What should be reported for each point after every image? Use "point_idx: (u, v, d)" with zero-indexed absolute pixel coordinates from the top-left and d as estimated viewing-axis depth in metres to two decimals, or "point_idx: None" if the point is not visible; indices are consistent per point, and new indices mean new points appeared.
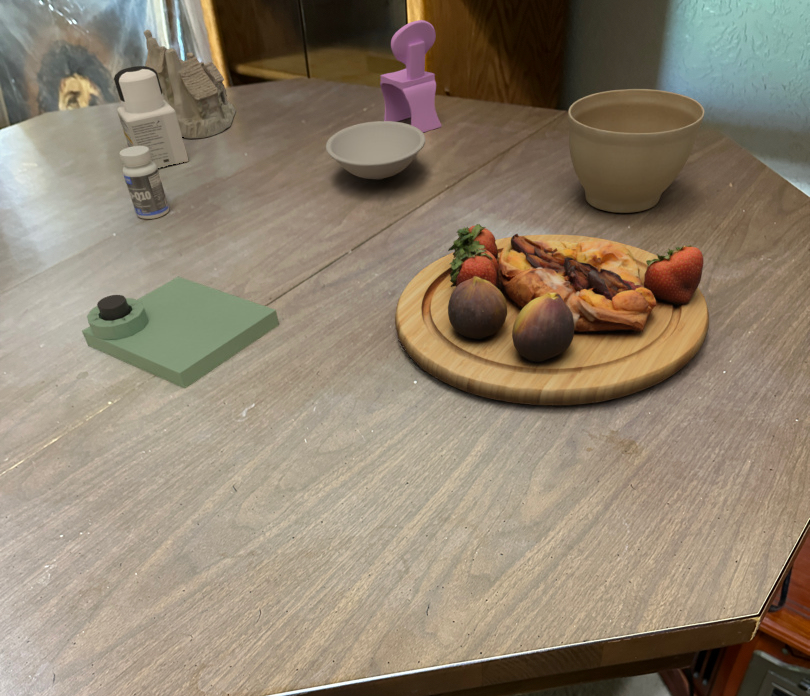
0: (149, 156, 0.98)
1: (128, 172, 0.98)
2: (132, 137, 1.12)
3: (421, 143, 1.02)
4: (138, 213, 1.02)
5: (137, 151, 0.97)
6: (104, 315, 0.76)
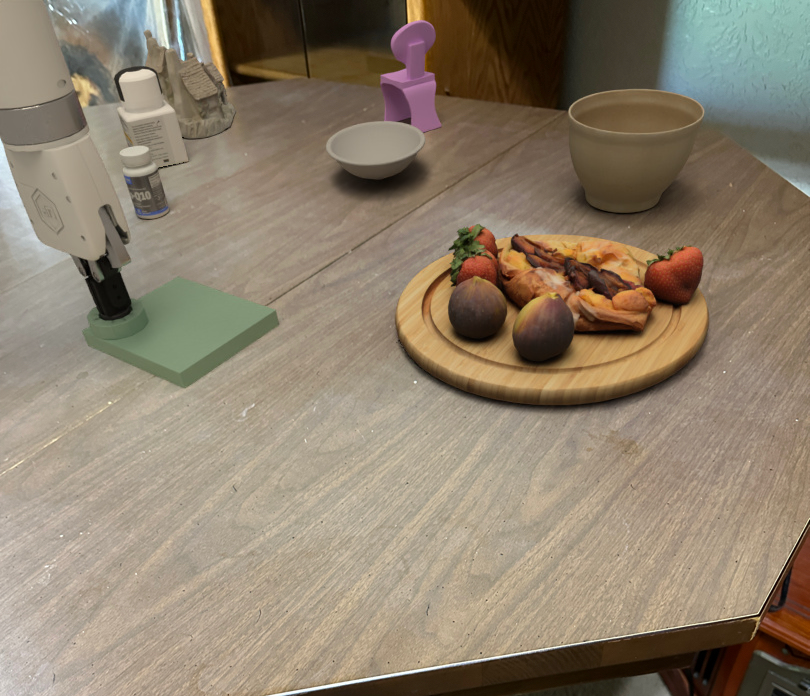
0: (149, 156, 0.98)
1: (128, 172, 0.98)
2: (132, 137, 1.12)
3: (421, 143, 1.02)
4: (138, 213, 1.02)
5: (137, 151, 0.97)
6: None
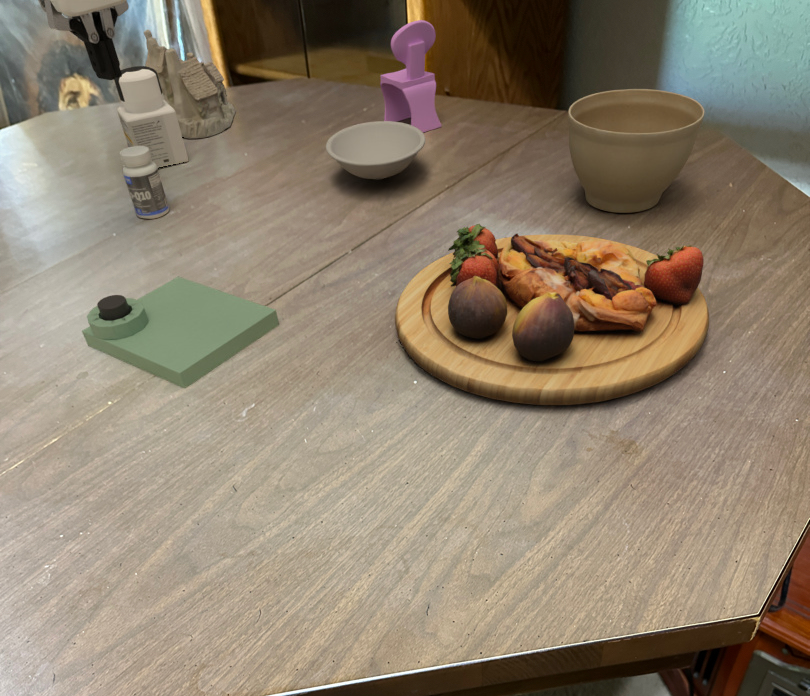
0: (149, 156, 0.98)
1: (128, 172, 0.98)
2: (132, 137, 1.12)
3: (421, 143, 1.02)
4: (138, 213, 1.02)
5: (137, 151, 0.97)
6: (104, 315, 0.76)
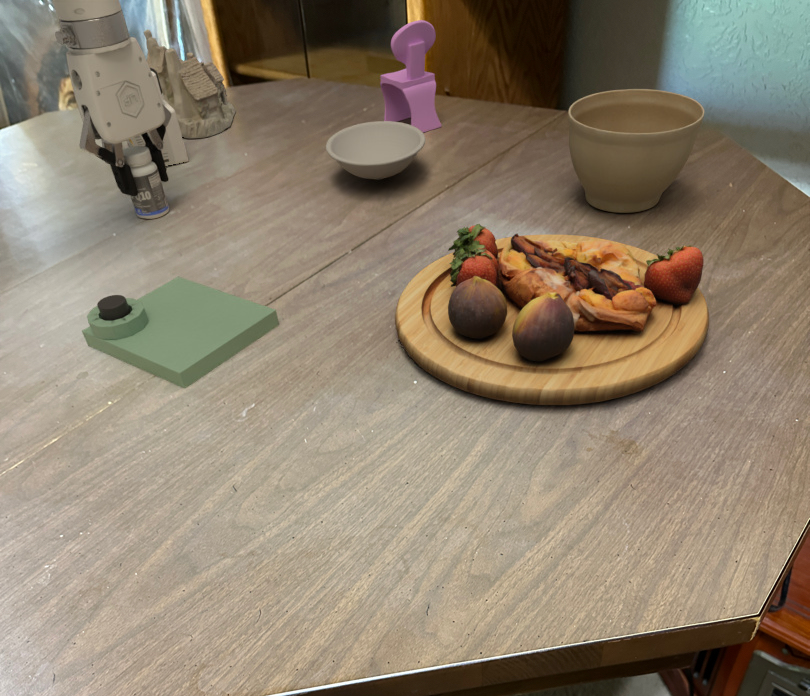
0: (149, 156, 0.98)
1: None
2: None
3: (421, 143, 1.02)
4: (138, 213, 1.02)
5: (137, 151, 0.97)
6: (104, 315, 0.76)
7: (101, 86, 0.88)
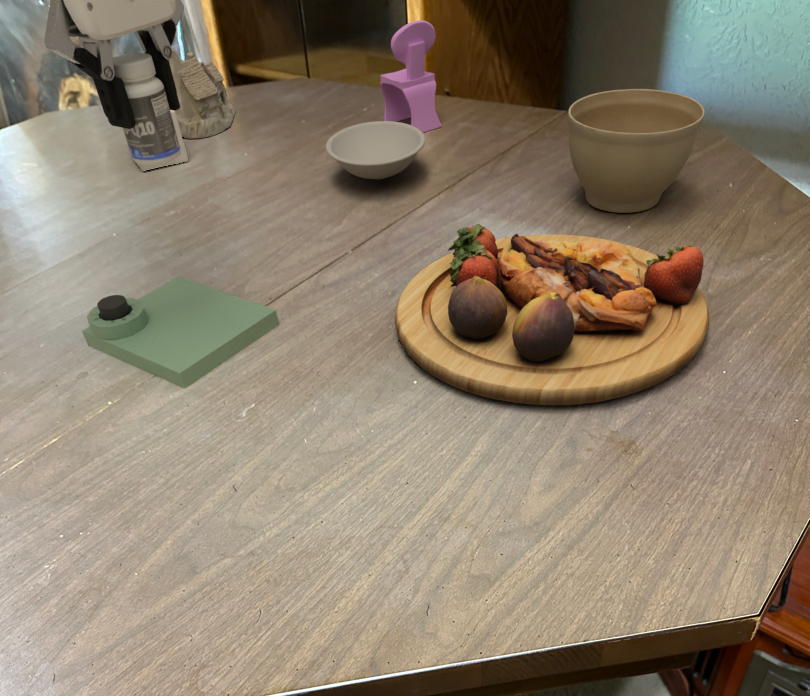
0: (152, 67, 0.65)
1: None
2: None
3: (421, 143, 1.02)
4: (136, 157, 0.69)
5: (133, 59, 0.64)
6: (104, 315, 0.76)
7: None
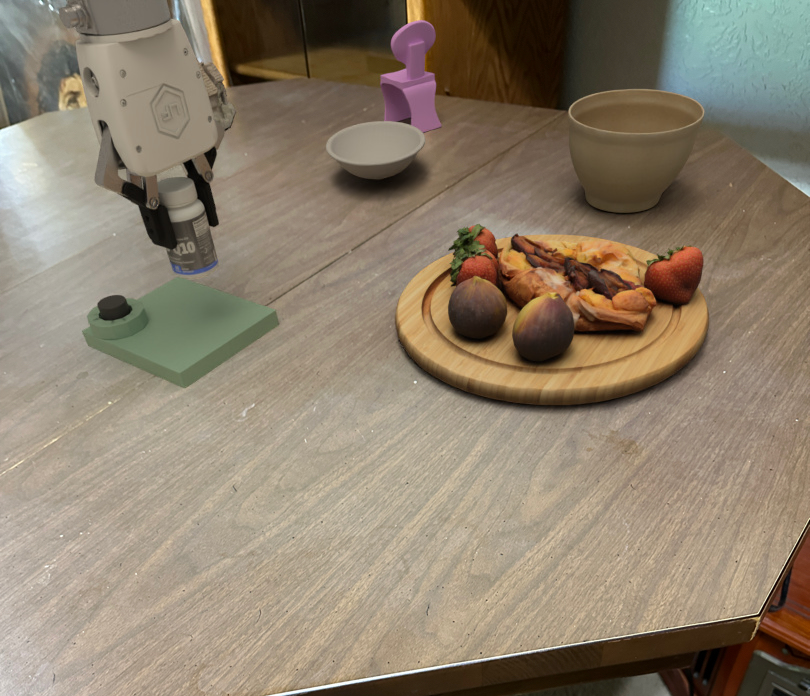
0: (194, 192, 0.68)
1: None
2: None
3: (421, 143, 1.02)
4: (176, 271, 0.72)
5: (177, 186, 0.67)
6: (104, 315, 0.76)
7: (128, 92, 0.58)
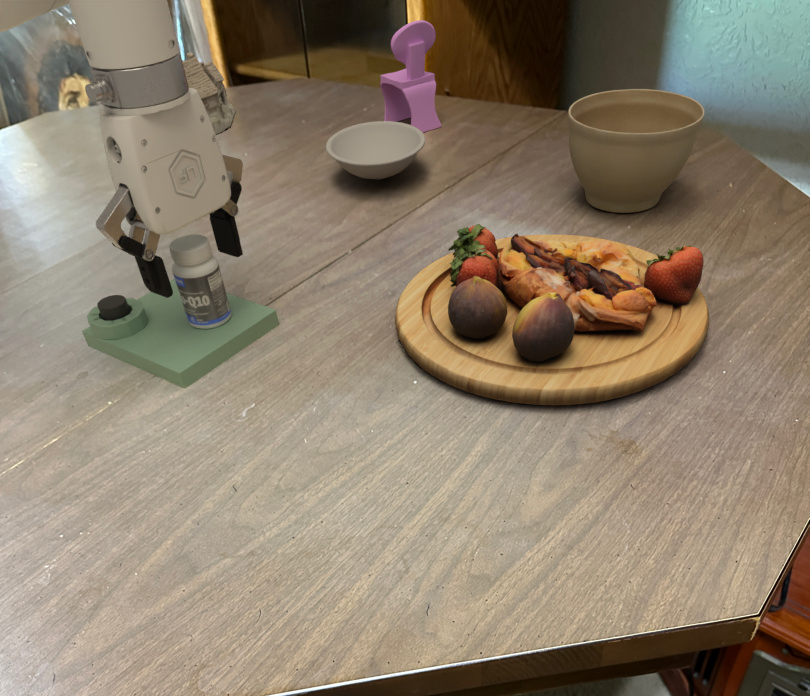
0: (209, 250, 0.72)
1: (181, 272, 0.72)
2: None
3: (421, 143, 1.02)
4: (191, 321, 0.76)
5: (193, 244, 0.71)
6: (104, 315, 0.76)
7: (149, 159, 0.62)
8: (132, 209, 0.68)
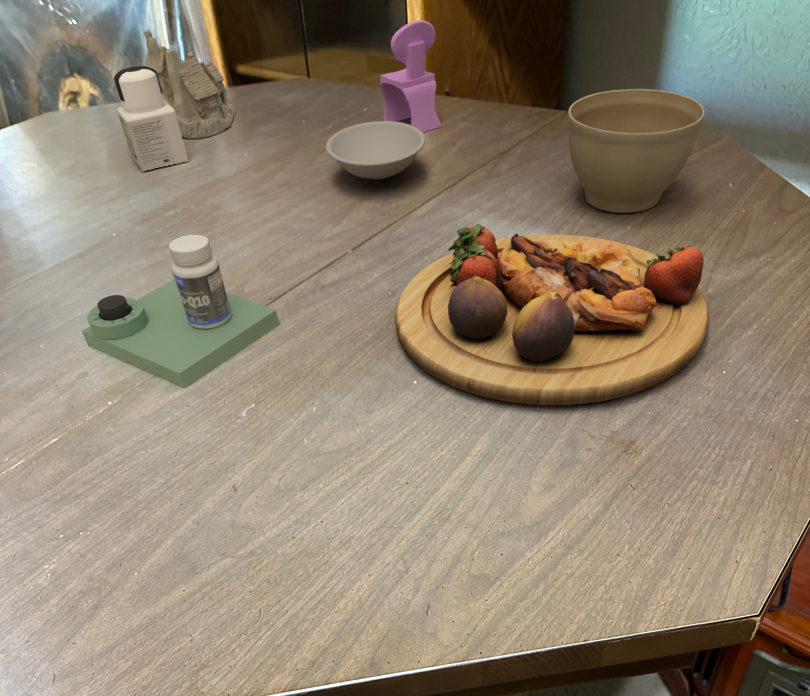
0: (209, 250, 0.72)
1: (181, 272, 0.72)
2: (132, 137, 1.12)
3: (421, 143, 1.02)
4: (191, 321, 0.76)
5: (193, 244, 0.71)
6: (104, 315, 0.76)
7: None
8: None
